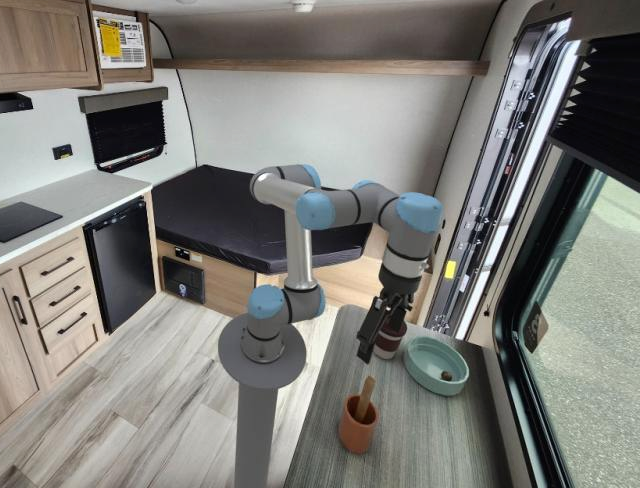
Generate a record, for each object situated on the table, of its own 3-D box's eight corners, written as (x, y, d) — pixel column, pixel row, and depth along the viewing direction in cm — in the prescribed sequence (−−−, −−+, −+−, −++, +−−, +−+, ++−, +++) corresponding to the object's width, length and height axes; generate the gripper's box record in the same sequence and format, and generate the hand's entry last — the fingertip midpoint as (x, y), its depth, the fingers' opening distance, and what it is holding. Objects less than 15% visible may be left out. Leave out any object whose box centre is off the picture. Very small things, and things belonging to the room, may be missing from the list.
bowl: (393, 365, 104) (398, 353, 101) (416, 340, 114) (421, 327, 111) (450, 408, 91) (456, 395, 89) (470, 375, 101) (476, 362, 99)
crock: (331, 432, 85) (338, 406, 80) (349, 413, 89) (356, 387, 85) (358, 461, 79) (367, 434, 74) (375, 438, 84) (384, 412, 79)
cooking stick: (349, 434, 84) (365, 379, 75) (353, 429, 85) (369, 374, 76) (355, 440, 83) (372, 384, 74) (359, 435, 84) (376, 380, 75)
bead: (443, 369, 98) (453, 377, 96) (444, 368, 101) (454, 375, 98) (438, 377, 99) (448, 385, 97) (440, 376, 101) (449, 383, 99)
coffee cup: (399, 367, 103) (410, 334, 97) (368, 358, 106) (377, 325, 100) (396, 343, 112) (406, 311, 106) (367, 335, 115) (375, 304, 109)
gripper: (388, 306, 53) (364, 388, 61) (446, 255, 67) (420, 327, 75) (350, 282, 58) (332, 361, 66) (411, 239, 72) (390, 308, 81)
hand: (379, 343), depth 71 cm, fingers open, 13 cm apart
